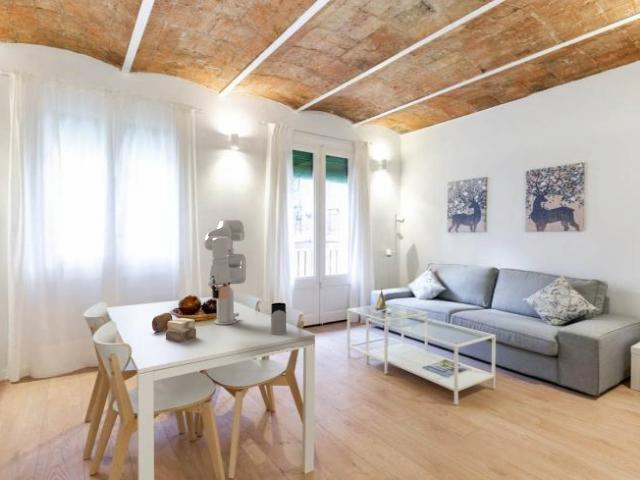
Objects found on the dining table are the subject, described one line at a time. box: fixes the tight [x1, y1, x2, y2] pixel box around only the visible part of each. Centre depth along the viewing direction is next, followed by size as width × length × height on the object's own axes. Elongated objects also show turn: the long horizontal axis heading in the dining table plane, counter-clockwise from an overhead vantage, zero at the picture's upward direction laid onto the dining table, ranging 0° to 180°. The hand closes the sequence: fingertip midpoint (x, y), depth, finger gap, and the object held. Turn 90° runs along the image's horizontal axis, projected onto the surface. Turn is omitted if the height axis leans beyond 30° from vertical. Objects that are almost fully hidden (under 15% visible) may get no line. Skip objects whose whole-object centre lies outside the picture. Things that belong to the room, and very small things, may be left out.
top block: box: [167, 317, 196, 333], centre depth 188 cm, size 9×9×4 cm
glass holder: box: [269, 302, 288, 336], centre depth 200 cm, size 9×14×15 cm, turn 9°
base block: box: [165, 328, 197, 343], centre depth 188 cm, size 10×10×4 cm
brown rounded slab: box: [151, 312, 173, 333], centre depth 204 cm, size 15×3×8 cm, turn 168°
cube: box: [211, 285, 230, 300], centre depth 193 cm, size 6×6×6 cm
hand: (220, 296), depth 193 cm, fingers closed on cube, 6 cm apart
